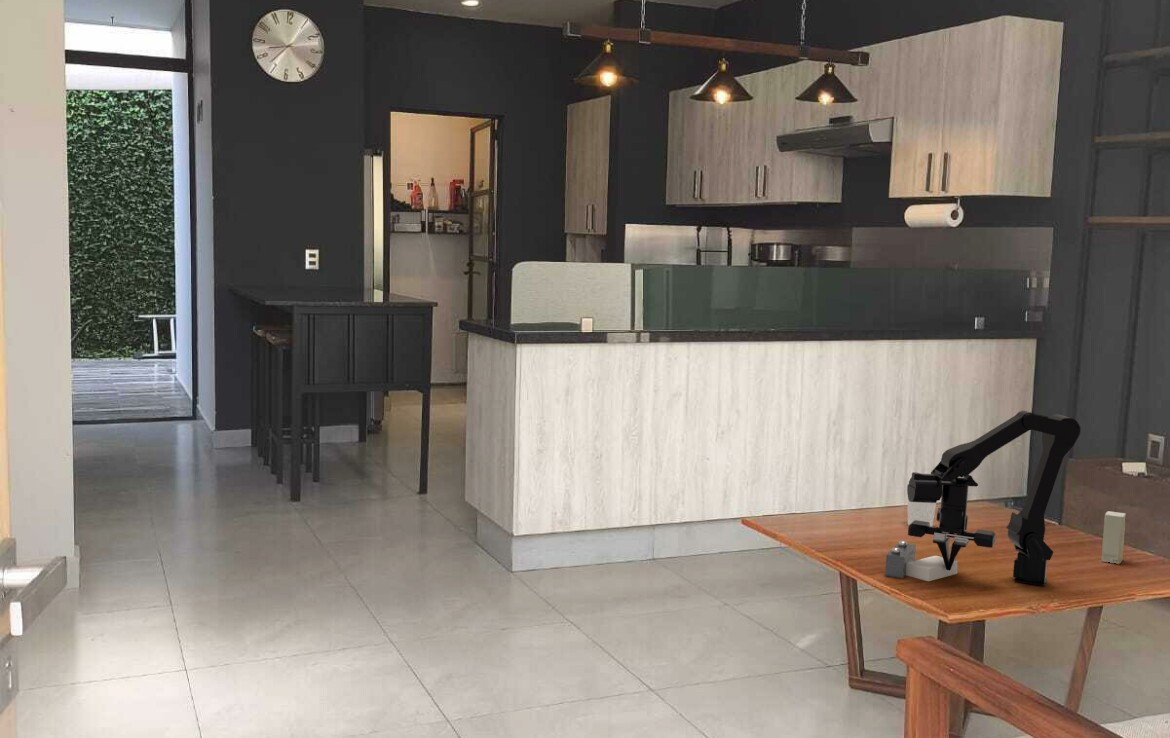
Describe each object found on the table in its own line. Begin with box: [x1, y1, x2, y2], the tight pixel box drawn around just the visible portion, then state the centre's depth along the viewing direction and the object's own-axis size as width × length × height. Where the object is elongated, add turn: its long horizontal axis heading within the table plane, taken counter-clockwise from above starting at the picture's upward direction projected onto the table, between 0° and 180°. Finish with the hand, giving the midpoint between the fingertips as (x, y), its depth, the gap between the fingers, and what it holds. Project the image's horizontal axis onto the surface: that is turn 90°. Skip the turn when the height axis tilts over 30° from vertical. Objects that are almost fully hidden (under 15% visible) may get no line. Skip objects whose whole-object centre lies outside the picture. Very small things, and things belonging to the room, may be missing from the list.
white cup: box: [906, 498, 937, 527], centre depth 307 cm, size 8×8×10 cm
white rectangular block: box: [905, 555, 959, 582], centre depth 256 cm, size 6×12×4 cm, turn 130°
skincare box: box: [1100, 510, 1127, 565], centre depth 276 cm, size 6×4×12 cm
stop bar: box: [884, 540, 917, 579], centre depth 259 cm, size 4×14×6 cm, turn 152°
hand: (948, 570), depth 253 cm, fingers closed
